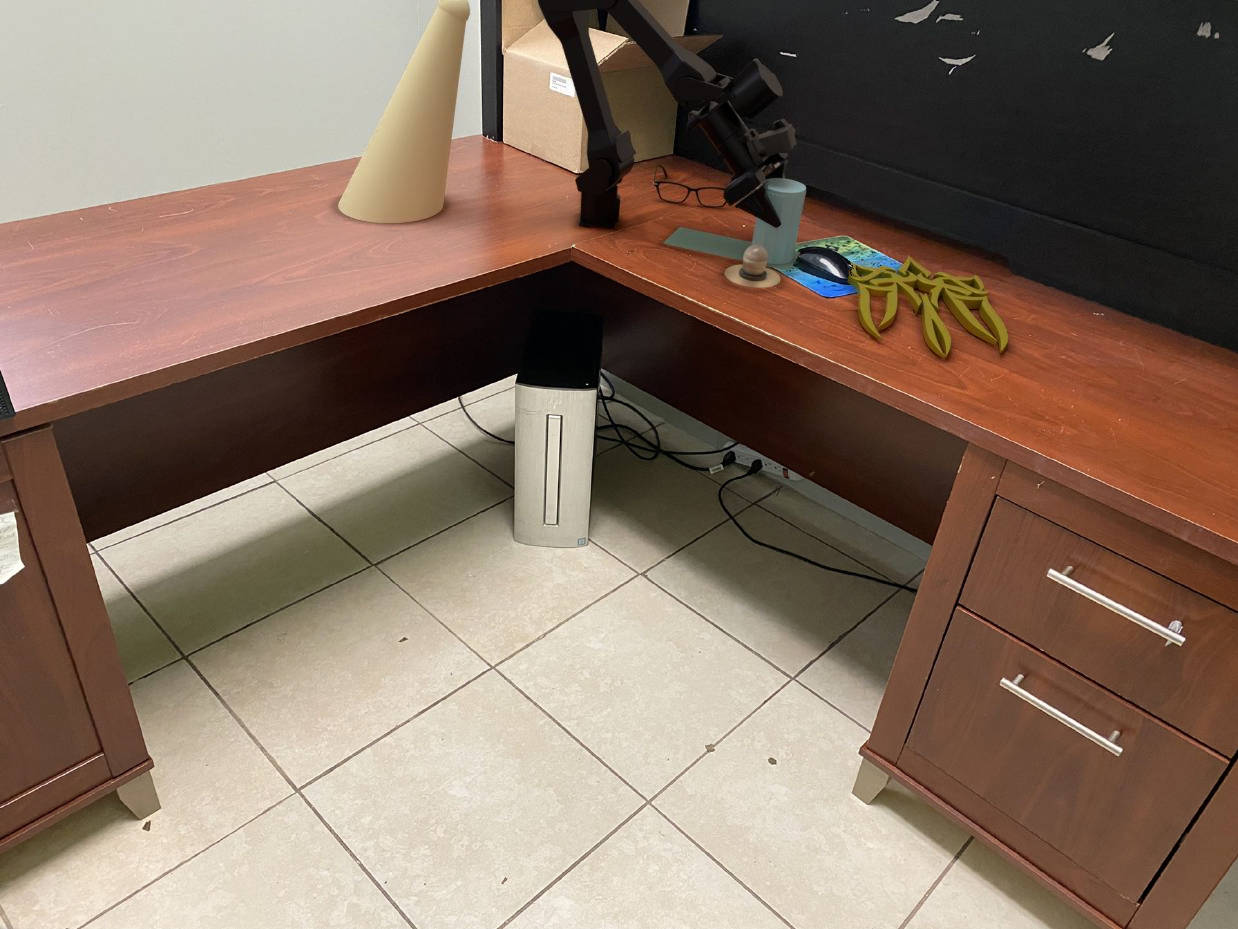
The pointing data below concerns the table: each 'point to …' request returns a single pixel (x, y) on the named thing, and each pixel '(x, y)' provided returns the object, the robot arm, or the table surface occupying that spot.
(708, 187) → the eyeglasses
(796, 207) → the tumbler
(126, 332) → the table surface
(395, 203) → the cone light
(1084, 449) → the table surface
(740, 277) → the knob on round base
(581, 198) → the robot arm
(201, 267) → the table surface
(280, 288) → the table surface
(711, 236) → the mat
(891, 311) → the gold ornamental emblem
